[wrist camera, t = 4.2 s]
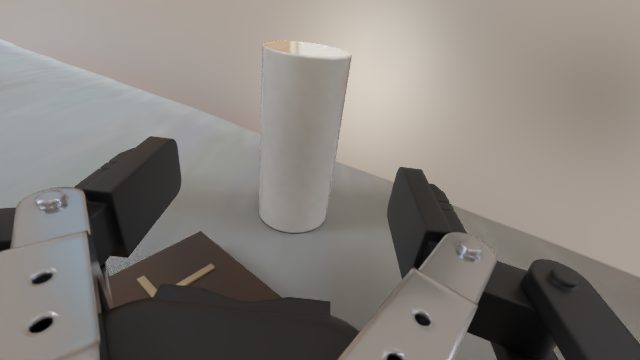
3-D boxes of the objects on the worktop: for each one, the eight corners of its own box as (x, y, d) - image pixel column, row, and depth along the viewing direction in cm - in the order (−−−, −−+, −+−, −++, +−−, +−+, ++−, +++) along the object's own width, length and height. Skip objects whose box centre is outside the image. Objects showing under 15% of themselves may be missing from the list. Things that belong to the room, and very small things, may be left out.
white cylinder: (291, 186, 23) (304, 39, 18) (339, 212, 21) (368, 54, 16) (244, 209, 20) (243, 41, 15) (294, 244, 18) (312, 60, 13)
